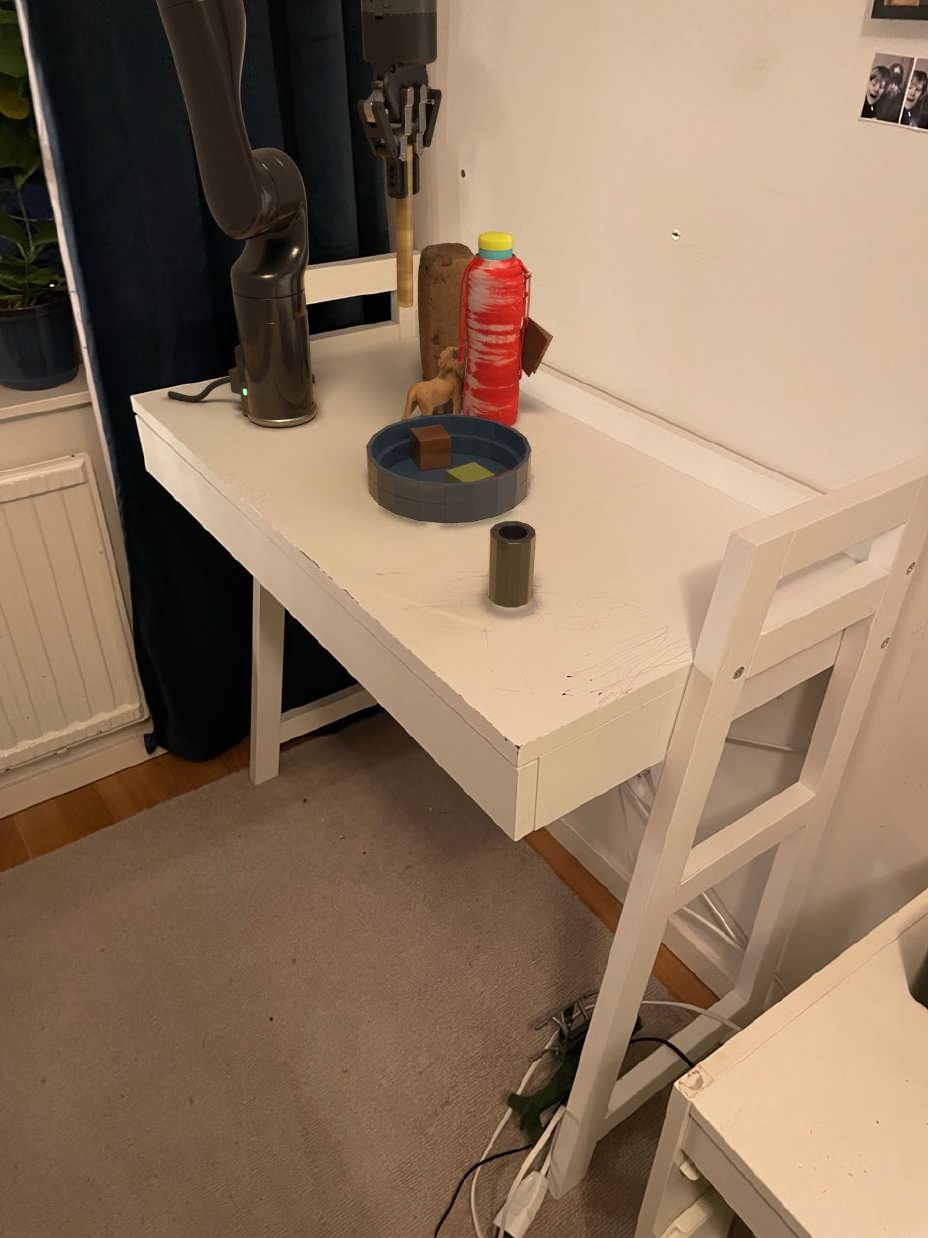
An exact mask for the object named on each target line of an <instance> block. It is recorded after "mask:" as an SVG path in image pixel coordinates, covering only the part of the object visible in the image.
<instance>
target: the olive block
mask: <svg viewBox="0 0 928 1238" xmlns="http://www.w3.org/2000/svg"><path fill="white" fill-rule="evenodd" d="M491 477H495V474H493V473H491V472H490V471H488V470H487V469H485V468H483V467H482V466H480V465H478V464H477V463H475V462H472V463H469V464H466V465H463V466H460V467H456V468H453V469H450V470H447V471H446V483H459V482H473V481H477V480H482V479H487V478H491Z"/></svg>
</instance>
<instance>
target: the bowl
mask: <svg viewBox="0 0 928 1238" xmlns="http://www.w3.org/2000/svg"><path fill="white" fill-rule="evenodd" d="M439 424H440V425H441V426H442V427H443V428H444V429H445V430H446V432H447V433H448V434H449V435H450V436H451V466H450V467H444V468H437V469H431V470H425V471H420V469H419V468H418V467H417V465H416V464H415V463H414V461H413V460H412V459H411V446H410V429H411V428H418V427H425V426H432V425H439ZM365 449H366V451H365V452H366V453H365V454H366V469H367V483H368V492H369V493H368V494H369V495H370V496H371V497H372V499H374V501H376V503H377V504H378V505H379V506H381V507H382V508H384V509H386V510H388V511H390V512H392V513H394V514H396V515H399V516H401V517H405V518H409V519H412V520H416V521H420V522H421V521H422V522H432V523H442V524H449V523H451V524H452V523H453V524H454V523H468V522H476V521H480V520H485V519H489V518H493V517H498V516H500V515H502V514H504V513H506V512H508V511H510V510H512V509H514V508H516V507H517V506H518V505H519V504H520V503H521V502H522V501H523V500H524V499H525V498H526V497H527V495H528V492H529V488H530V485H531V470H532V469H531V467H532V450H533V449H532V447H531V444H530V442H529V440H528V438H527V436H525V435H524V434H522V433H521V432H520V431H519V430H517V429H516V428H515V427H513V426H508V425H506V424H503V423H501V422H498V421H495V420H491V419H486V418H482V417H478V416H469V415H465V414H460V415H457V414H453V413H442V414H432V415H425V416H423V415H420V416H415V417H410V418H409V419H404V420H401V419H400V420H399V421H396V422H393V423H391V424H387V425H386V426H384V427H383V428H381V429H380V430H378V431H377V432H375V433H374V434H372V436H371V437H370V439H369V441H368V442H367V444H366V446H365ZM472 462H475V463H477V464H478V465H480V466H482V467H483V468H485V469H487V470H488V471H490V472H491V473H493V474H495V477H491V478H487V479H482V480H477V481H473V482H459V483H446V471H447V470H450V469H453V468H456V467H460V466H463V465H466V464H469V463H472Z"/></svg>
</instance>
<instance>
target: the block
mask: <svg viewBox="0 0 928 1238" xmlns="http://www.w3.org/2000/svg"><path fill="white" fill-rule="evenodd" d="M474 256H475V253H473V252H472V250H471V249H470V247H469V246H468V245H465V244H463V243H461V242H441V243H436V244H427V245H426V246H425V247H424V248H422V249H421V252H420V255H419V263H418V270H417V319H418V321H417V323H418V337H419V338H418V339H419V354H420V364H421V365H420V366H421V371H422V382H425V381H430V380H433V379H434V378H436V377H437V376H438V371H439V365H438V360H439V359H440V354H441V353H442V352H443V351H445V350H446V348H447V347H458V348H459V347H460V345H461V340H460V337H459V319H458V309H459V297H460V285H461V280H462V276H463V272H464V270H465V268H466V266H467V265H468V263H470V262H471V261H472V260H473V259H474ZM466 273H467V272H466ZM465 281H466V274H465V278H464V282H463V290H462V302H461V336H462V330H463V313H464V294H465ZM464 343H465V344H466V325H465V335H464ZM463 353H464V355H465V356H466V346H465V347H464V351H463ZM461 398H463V392H462V393H461Z"/></svg>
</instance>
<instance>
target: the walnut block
mask: <svg viewBox="0 0 928 1238" xmlns="http://www.w3.org/2000/svg"><path fill="white" fill-rule="evenodd" d="M410 446H411V459H412V460H413V461H414V463H415V464H416V465H417V467H418V468H419V469H420V471H425V470H431V469H437V468H444V467H450V466H451V436H450V435H449V434H448V433H447V432H446V430H445V429H444V428H443V427H442V426H441V425H440V424H439V425H432V426H425V427H418V428H411V429H410Z"/></svg>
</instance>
